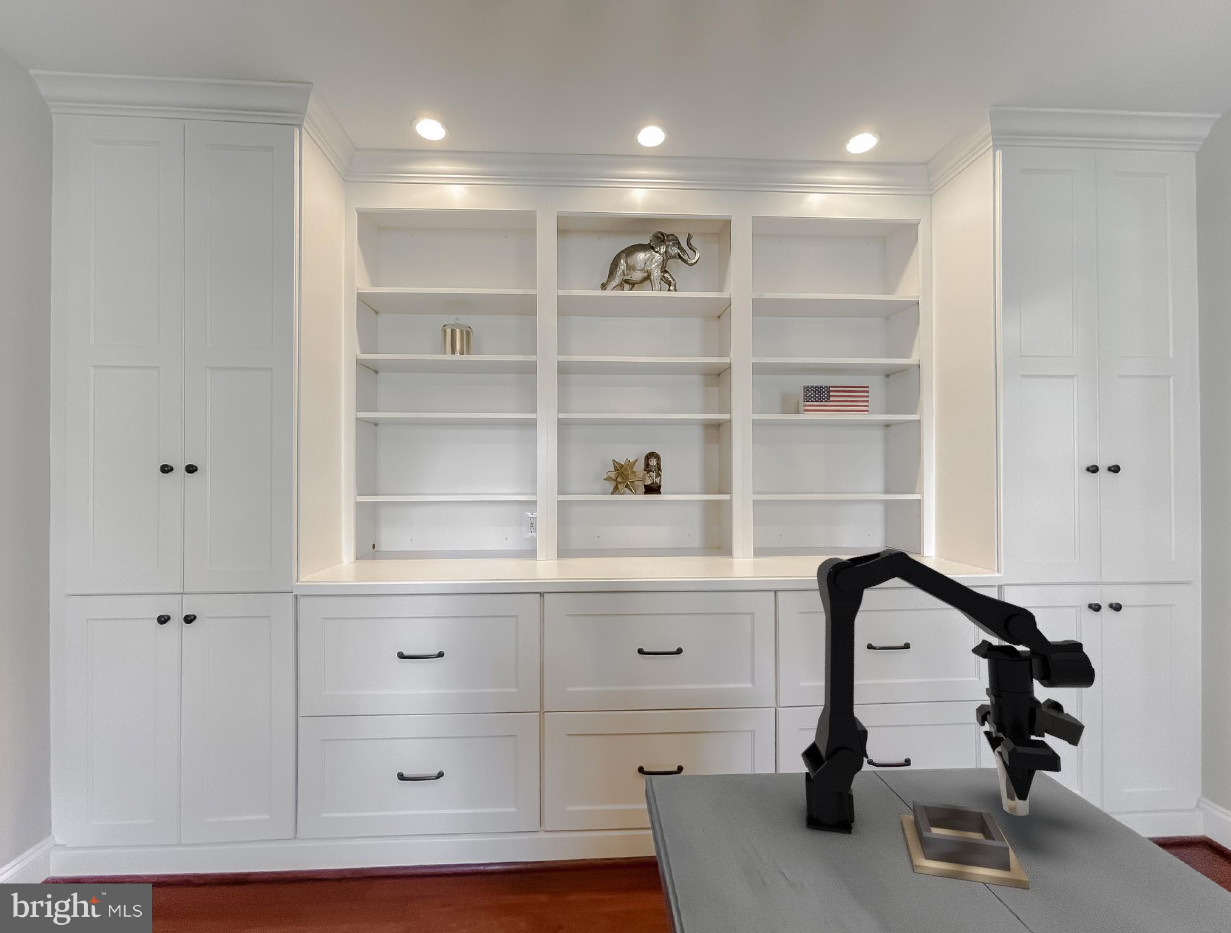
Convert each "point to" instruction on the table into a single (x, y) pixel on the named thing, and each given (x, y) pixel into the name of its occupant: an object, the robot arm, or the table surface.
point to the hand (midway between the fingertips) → (1017, 793)
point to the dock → (960, 844)
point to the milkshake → (1009, 792)
